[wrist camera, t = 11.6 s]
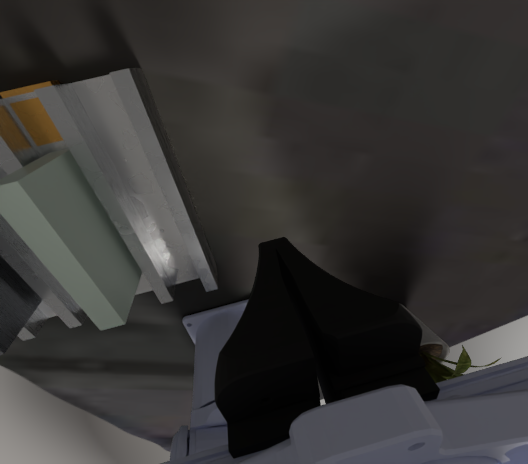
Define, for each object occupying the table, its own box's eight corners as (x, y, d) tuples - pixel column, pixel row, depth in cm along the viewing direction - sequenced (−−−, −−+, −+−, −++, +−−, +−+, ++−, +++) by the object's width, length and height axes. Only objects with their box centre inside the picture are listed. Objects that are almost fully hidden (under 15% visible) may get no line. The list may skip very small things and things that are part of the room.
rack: (216, 266, 25) (219, 328, 19) (42, 312, 24) (-12, 391, 18) (139, 62, 16) (97, 59, 10) (-143, 125, 15) (-365, 163, 9)
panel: (144, 265, 22) (125, 324, 17) (125, 270, 22) (100, 330, 17) (75, 146, 17) (17, 181, 12) (49, 152, 17) (-20, 189, 12)
